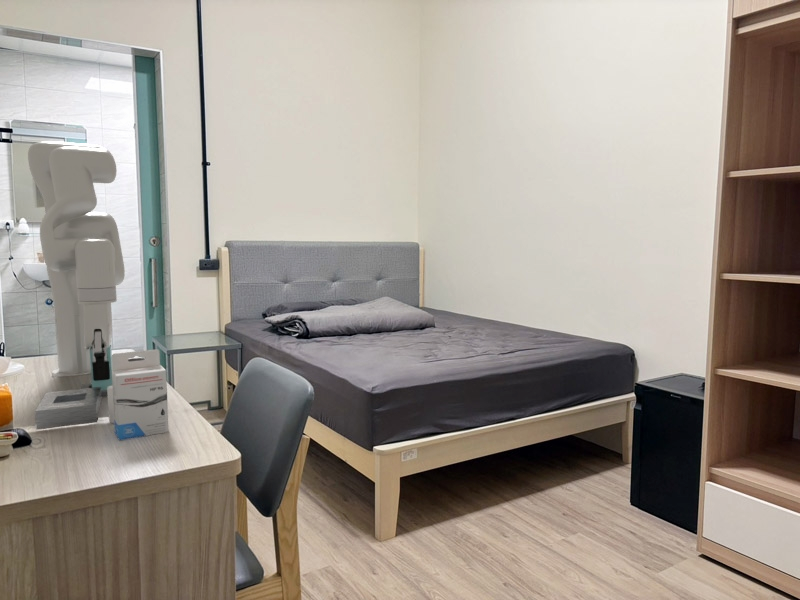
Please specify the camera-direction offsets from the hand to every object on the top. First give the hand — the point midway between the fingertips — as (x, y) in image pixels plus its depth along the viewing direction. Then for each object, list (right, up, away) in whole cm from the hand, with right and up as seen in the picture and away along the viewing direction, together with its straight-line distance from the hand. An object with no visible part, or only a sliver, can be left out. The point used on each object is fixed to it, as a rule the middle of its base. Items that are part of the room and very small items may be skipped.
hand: (102, 376), depth 130 cm
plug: (0, -3, 0) cm, 3 cm away
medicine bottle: (+15, -7, -17) cm, 24 cm away
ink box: (+19, -7, -24) cm, 32 cm away
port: (+1, -6, -13) cm, 15 cm away
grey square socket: (0, -4, 0) cm, 4 cm away
